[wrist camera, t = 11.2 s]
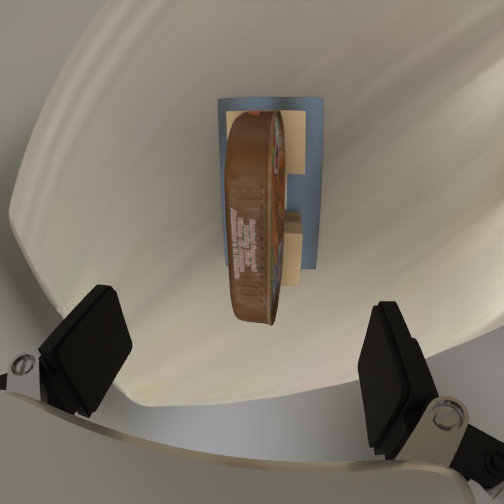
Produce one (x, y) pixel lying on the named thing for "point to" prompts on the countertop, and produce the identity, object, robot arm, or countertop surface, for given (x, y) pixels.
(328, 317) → the countertop surface
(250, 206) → the tin
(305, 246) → the bridge base
